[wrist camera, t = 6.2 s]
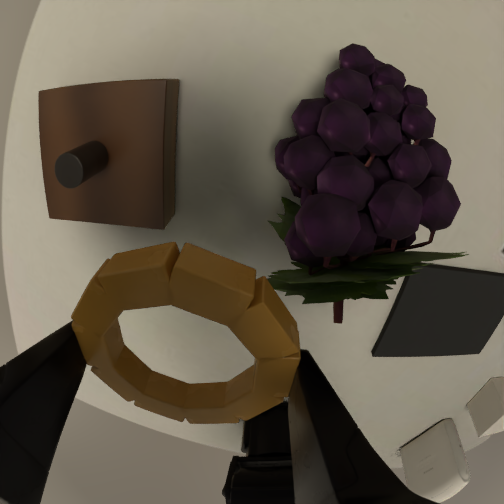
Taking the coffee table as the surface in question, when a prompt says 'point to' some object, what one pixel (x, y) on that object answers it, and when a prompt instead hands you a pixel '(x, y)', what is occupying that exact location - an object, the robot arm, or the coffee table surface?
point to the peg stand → (110, 151)
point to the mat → (443, 313)
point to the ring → (200, 303)
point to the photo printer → (436, 463)
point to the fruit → (361, 185)
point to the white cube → (488, 408)
